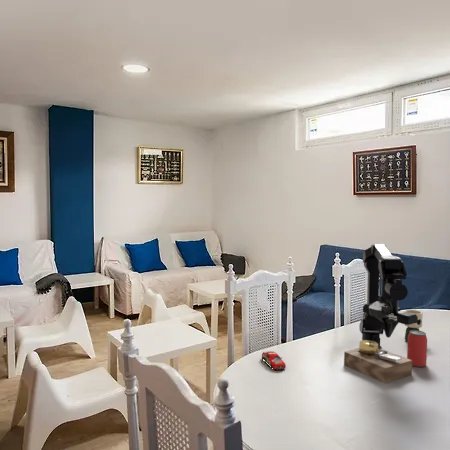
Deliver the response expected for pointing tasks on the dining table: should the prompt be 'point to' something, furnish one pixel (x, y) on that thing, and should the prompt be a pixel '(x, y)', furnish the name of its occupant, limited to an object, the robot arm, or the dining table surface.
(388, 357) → the latch bar
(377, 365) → the brown rectangular block
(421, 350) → the beer can
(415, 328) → the character mug
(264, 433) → the dining table surface
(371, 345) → the brass pin
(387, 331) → the robot arm
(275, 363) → the race car
